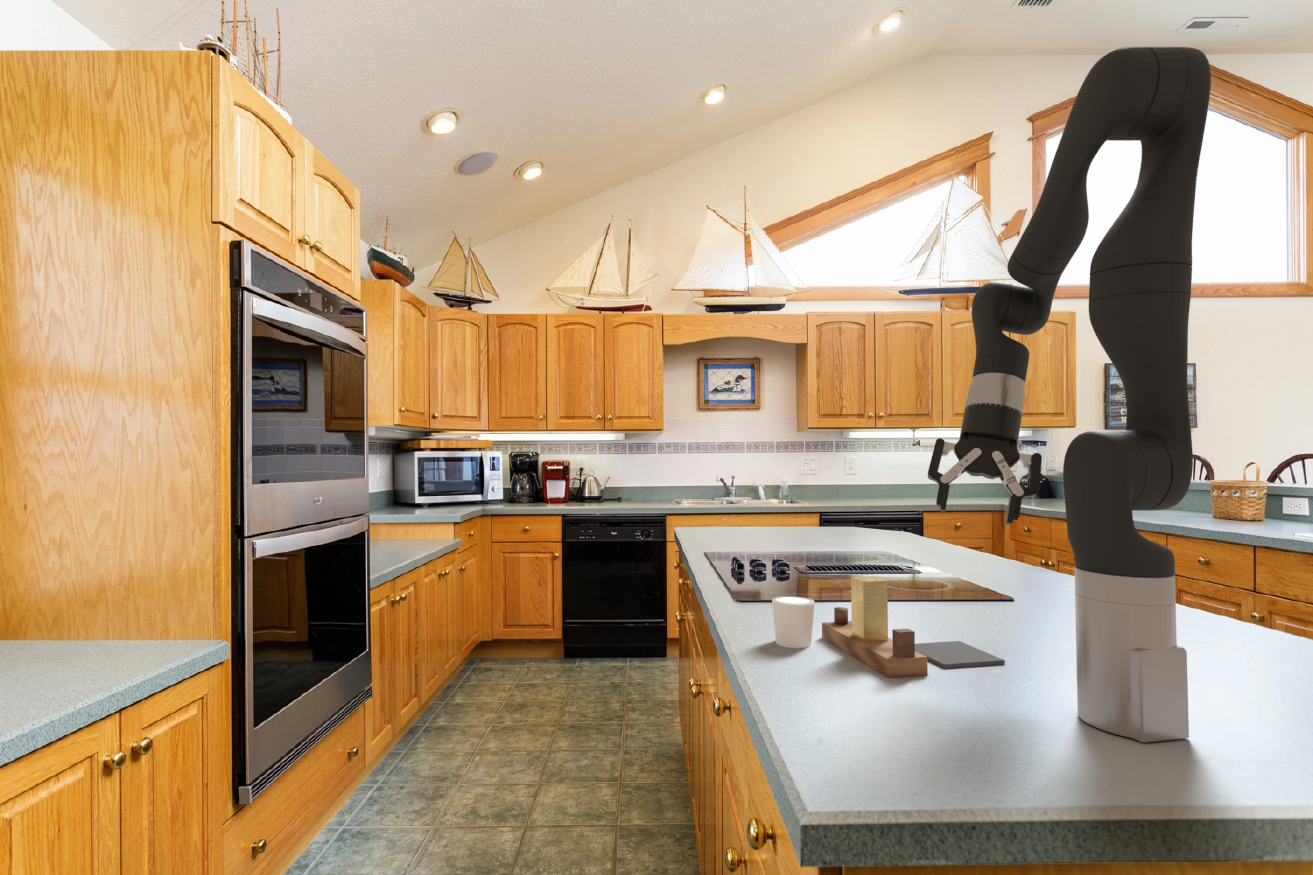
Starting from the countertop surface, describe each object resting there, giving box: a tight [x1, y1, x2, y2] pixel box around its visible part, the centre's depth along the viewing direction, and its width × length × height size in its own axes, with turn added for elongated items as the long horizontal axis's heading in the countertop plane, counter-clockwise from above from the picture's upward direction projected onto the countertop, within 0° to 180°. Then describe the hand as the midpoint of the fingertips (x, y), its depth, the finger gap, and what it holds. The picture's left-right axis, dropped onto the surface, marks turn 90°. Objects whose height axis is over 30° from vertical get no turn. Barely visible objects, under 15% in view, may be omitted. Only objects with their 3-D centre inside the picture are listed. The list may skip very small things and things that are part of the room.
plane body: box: [821, 606, 929, 679], centre depth 97 cm, size 20×6×6 cm, turn 11°
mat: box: [915, 640, 1006, 669], centre depth 96 cm, size 10×10×1 cm
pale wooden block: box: [850, 575, 889, 642], centre depth 97 cm, size 4×4×9 cm
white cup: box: [771, 595, 816, 649], centre depth 103 cm, size 7×7×7 cm
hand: (975, 517), depth 90 cm, fingers open, 8 cm apart
